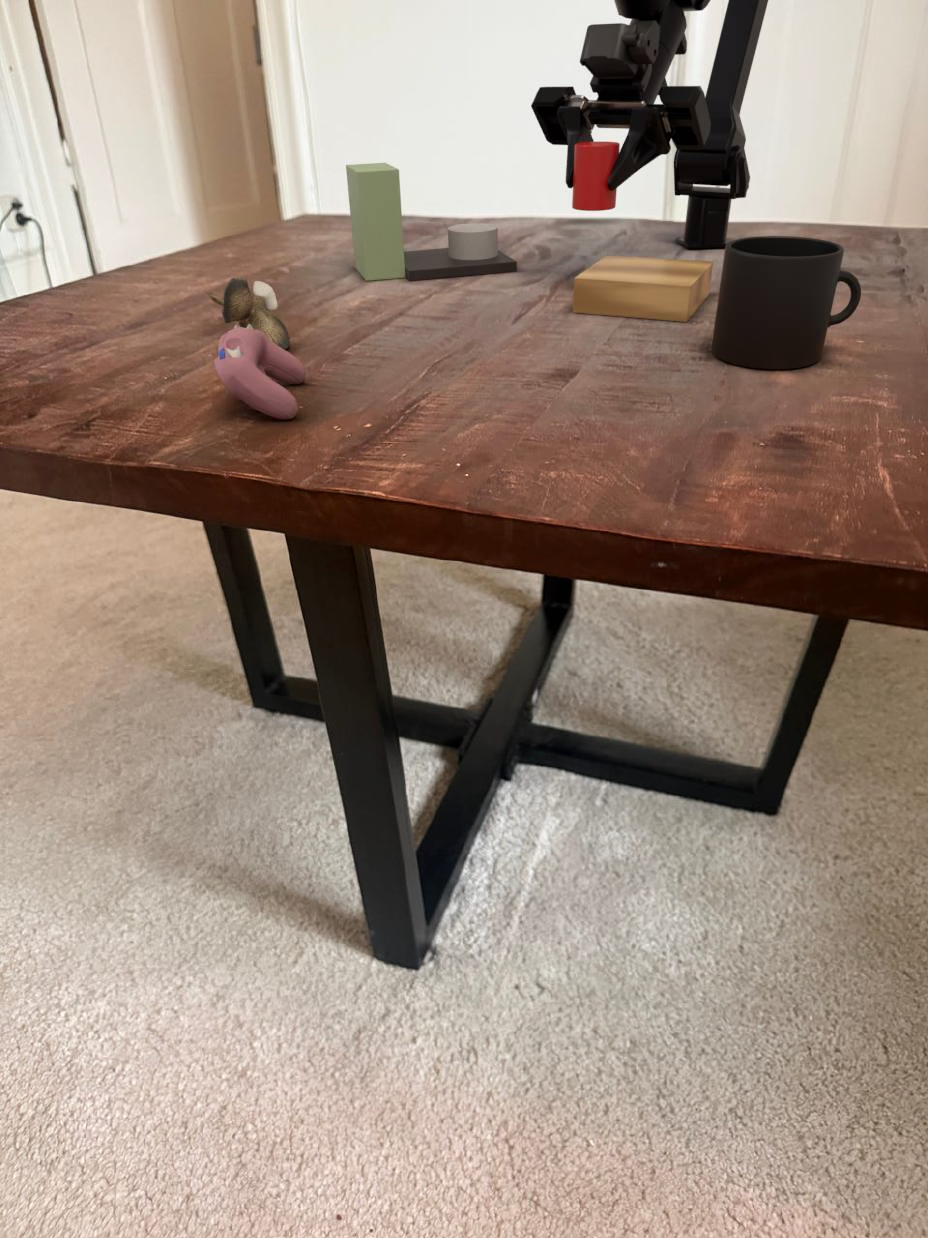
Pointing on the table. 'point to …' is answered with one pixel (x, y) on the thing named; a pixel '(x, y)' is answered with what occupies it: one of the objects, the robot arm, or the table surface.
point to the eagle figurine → (252, 309)
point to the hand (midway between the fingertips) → (588, 186)
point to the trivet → (643, 288)
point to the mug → (779, 300)
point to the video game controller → (258, 371)
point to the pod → (593, 175)
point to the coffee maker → (383, 235)
